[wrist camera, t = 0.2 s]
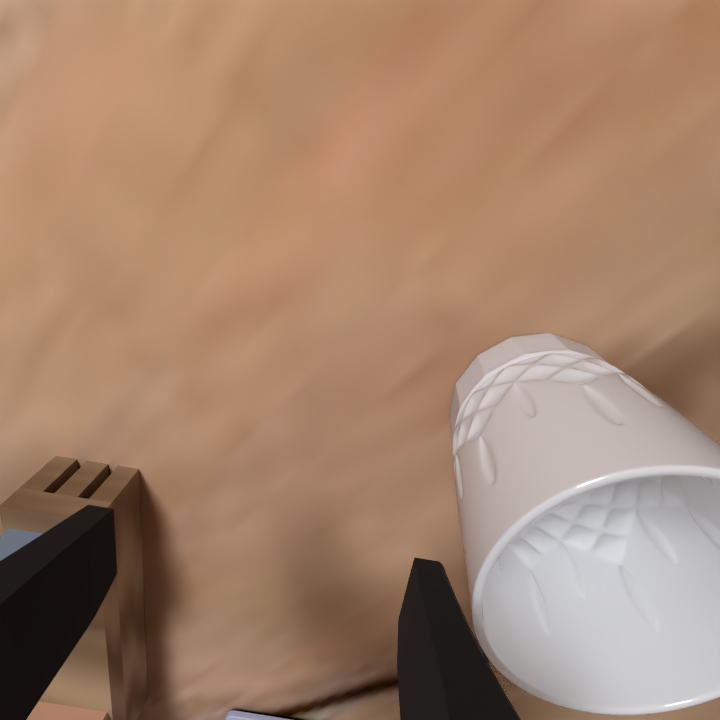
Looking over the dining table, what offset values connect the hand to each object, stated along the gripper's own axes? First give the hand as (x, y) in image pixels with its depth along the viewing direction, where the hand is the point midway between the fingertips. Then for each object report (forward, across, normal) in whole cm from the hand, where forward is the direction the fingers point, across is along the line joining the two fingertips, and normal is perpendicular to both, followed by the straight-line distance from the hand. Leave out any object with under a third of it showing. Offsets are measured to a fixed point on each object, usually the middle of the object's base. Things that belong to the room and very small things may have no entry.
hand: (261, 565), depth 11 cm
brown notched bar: (+10, +10, +14) cm, 20 cm away
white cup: (+10, -9, -1) cm, 14 cm away
